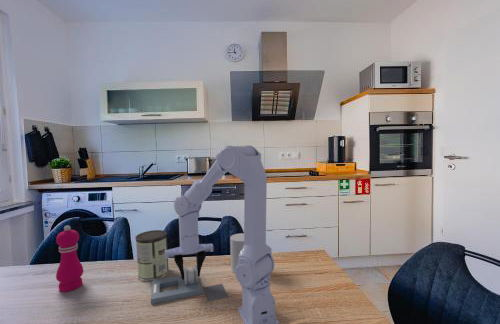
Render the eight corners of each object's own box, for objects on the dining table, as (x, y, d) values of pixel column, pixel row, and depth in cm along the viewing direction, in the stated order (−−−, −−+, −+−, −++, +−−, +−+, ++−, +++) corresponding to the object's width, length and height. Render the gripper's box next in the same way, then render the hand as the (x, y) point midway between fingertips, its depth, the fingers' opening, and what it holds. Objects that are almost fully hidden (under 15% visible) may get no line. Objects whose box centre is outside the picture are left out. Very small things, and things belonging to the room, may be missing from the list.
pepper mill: (70, 293, 79) (66, 229, 78) (51, 291, 80) (46, 228, 79) (89, 281, 86) (86, 222, 85) (71, 280, 87) (67, 222, 86)
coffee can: (146, 267, 96) (144, 229, 95) (173, 267, 95) (171, 230, 94) (131, 281, 86) (129, 239, 85) (161, 282, 85) (159, 240, 84)
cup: (254, 275, 87) (253, 241, 87) (230, 276, 87) (229, 241, 87) (254, 265, 95) (253, 233, 95) (232, 265, 96) (231, 233, 95)
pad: (228, 298, 74) (228, 297, 74) (207, 302, 72) (207, 301, 72) (222, 284, 82) (222, 283, 82) (203, 288, 80) (203, 287, 80)
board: (201, 295, 76) (201, 288, 76) (151, 305, 72) (150, 298, 72) (196, 277, 87) (196, 272, 87) (152, 286, 82) (152, 280, 82)
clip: (198, 282, 79) (197, 270, 79) (184, 284, 78) (184, 273, 78) (196, 276, 83) (196, 265, 83) (183, 278, 82) (183, 267, 82)
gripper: (210, 227, 86) (211, 267, 87) (164, 233, 81) (166, 275, 82) (214, 233, 79) (215, 276, 80) (164, 240, 75) (166, 286, 75)
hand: (190, 276), depth 81 cm, fingers closed on clip, 4 cm apart
